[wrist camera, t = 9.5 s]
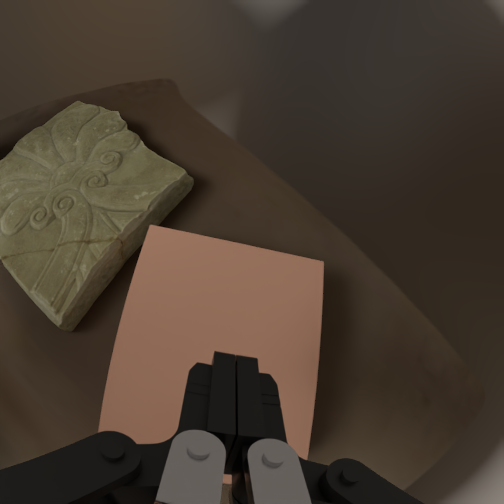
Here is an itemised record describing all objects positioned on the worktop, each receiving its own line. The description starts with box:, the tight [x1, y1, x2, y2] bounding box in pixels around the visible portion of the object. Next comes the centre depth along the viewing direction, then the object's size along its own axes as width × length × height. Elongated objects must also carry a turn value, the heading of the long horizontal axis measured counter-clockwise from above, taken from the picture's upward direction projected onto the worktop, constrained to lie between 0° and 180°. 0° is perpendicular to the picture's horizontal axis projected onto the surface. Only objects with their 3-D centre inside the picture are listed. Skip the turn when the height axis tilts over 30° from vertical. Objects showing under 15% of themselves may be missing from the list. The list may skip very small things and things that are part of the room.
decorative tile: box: [0, 101, 194, 332], centre depth 23 cm, size 19×20×4 cm
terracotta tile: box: [98, 225, 324, 484], centre depth 18 cm, size 4×12×15 cm
